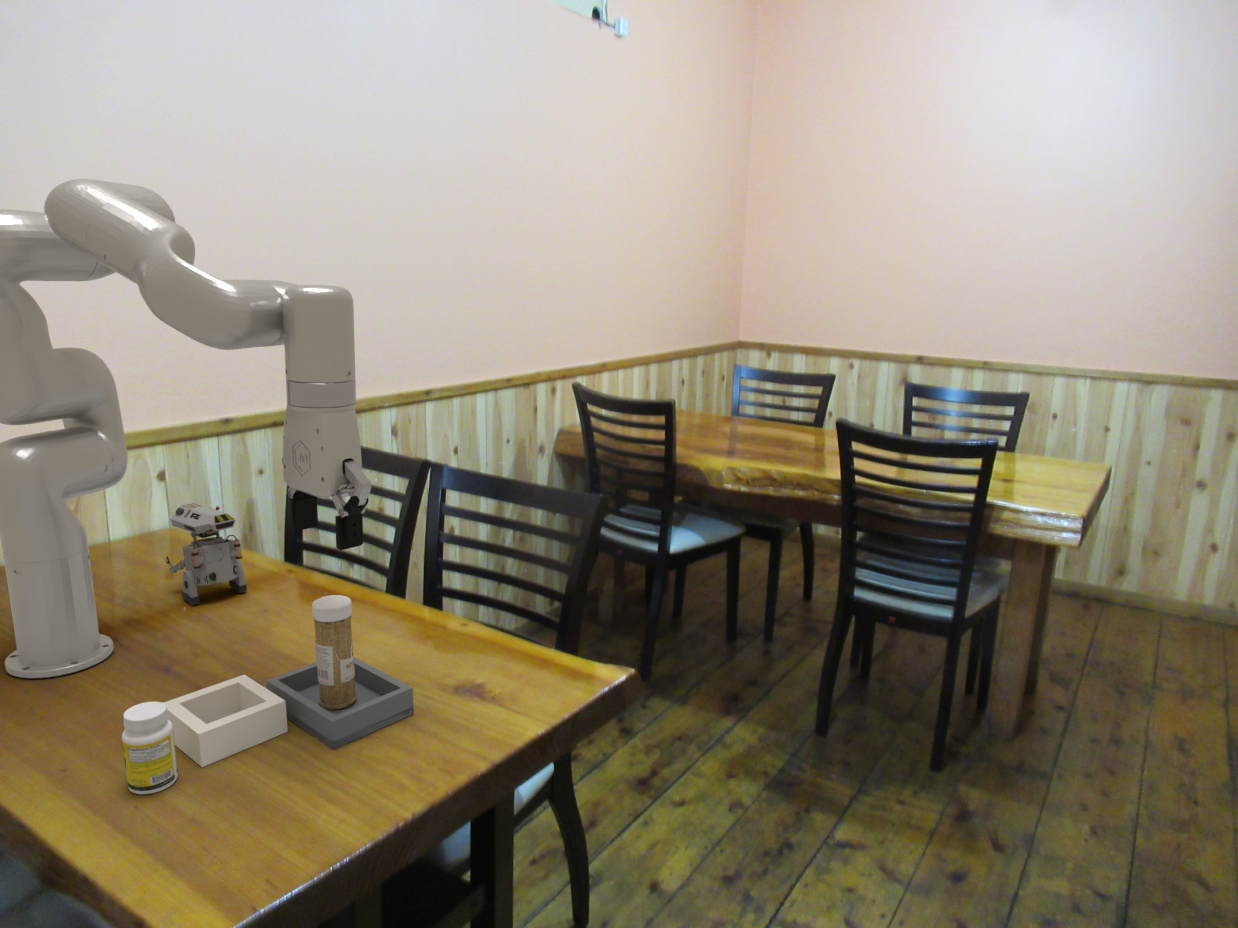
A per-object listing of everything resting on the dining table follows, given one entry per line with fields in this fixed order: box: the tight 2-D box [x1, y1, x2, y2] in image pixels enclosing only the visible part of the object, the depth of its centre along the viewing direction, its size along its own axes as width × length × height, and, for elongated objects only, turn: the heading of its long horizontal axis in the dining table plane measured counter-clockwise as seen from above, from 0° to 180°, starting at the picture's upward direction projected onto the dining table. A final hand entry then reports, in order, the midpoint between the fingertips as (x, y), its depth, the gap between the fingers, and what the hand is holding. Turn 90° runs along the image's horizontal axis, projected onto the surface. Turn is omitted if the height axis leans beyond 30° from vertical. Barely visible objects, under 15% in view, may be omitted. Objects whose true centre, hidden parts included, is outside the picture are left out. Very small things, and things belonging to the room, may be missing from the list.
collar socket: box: [163, 674, 289, 768], centre depth 99 cm, size 10×10×4 cm
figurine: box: [165, 502, 248, 607], centre depth 141 cm, size 9×12×15 cm
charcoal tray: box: [265, 657, 415, 750], centre depth 105 cm, size 15×11×4 cm
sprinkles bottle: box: [311, 594, 357, 710], centre depth 104 cm, size 5×5×14 cm
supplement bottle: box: [121, 701, 179, 795], centre depth 89 cm, size 5×5×8 cm
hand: (326, 537), depth 100 cm, fingers open, 9 cm apart
